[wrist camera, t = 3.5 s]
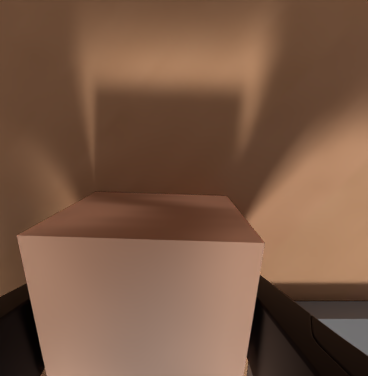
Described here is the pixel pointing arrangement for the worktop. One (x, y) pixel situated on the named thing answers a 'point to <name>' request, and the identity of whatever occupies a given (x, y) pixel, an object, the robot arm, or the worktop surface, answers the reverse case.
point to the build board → (341, 320)
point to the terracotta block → (143, 285)
